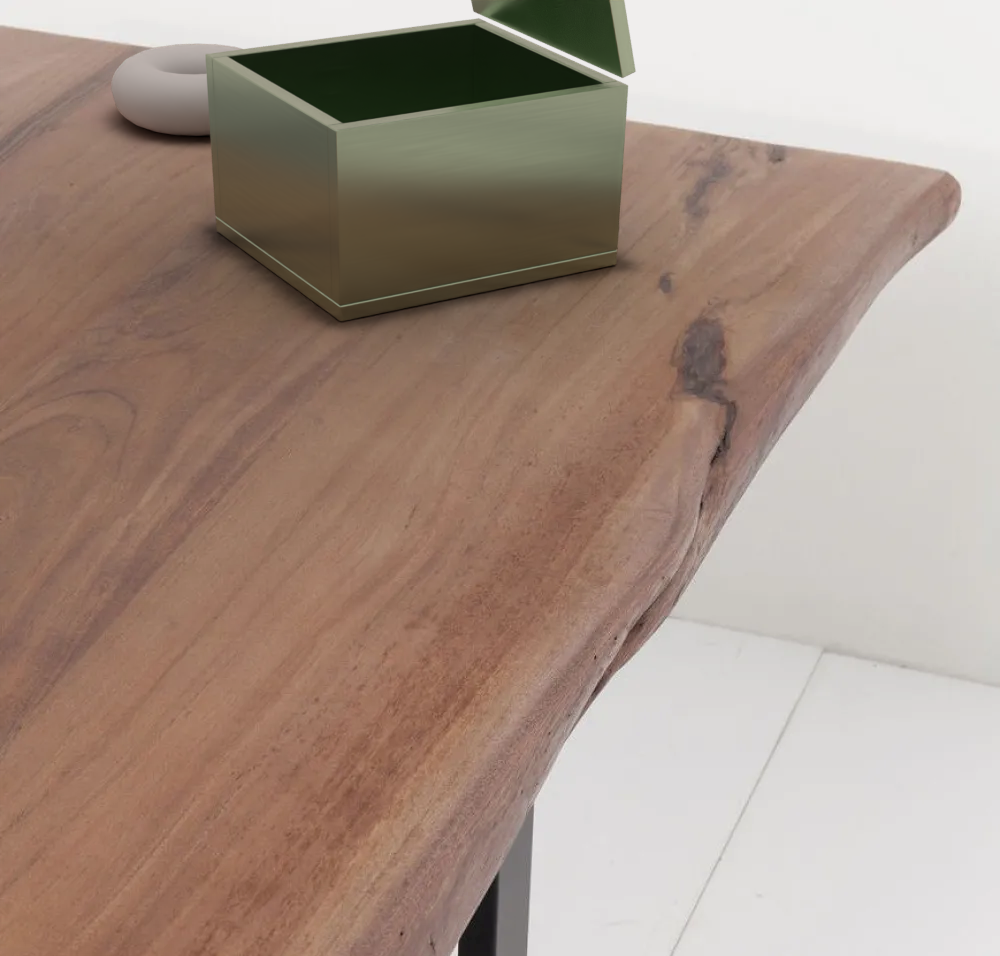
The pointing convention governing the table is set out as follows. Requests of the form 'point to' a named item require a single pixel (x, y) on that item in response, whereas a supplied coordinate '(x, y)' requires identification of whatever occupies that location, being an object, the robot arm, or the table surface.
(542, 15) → the green box lid
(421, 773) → the table surface
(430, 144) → the green metal box
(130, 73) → the donut
